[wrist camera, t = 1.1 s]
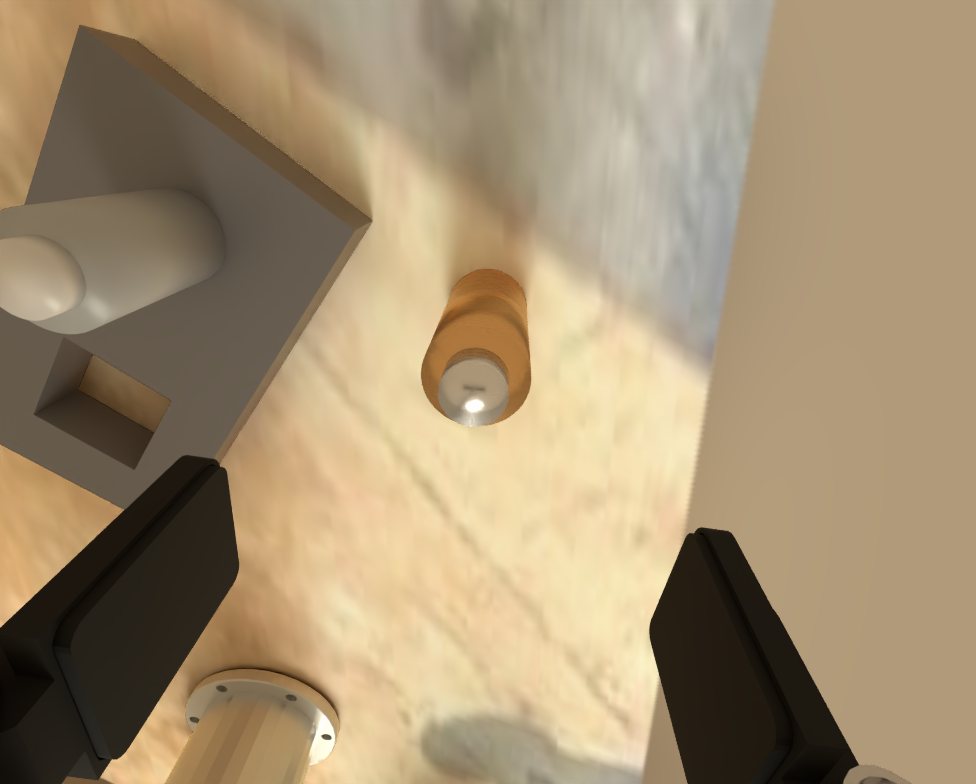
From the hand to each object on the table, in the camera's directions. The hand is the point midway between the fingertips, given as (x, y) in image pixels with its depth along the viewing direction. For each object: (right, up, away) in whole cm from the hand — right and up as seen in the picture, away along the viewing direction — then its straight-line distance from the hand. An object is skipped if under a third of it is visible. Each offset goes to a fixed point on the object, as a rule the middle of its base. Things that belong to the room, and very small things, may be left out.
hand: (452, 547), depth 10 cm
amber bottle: (+1, +8, +16) cm, 17 cm away
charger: (-16, +7, +17) cm, 24 cm away
